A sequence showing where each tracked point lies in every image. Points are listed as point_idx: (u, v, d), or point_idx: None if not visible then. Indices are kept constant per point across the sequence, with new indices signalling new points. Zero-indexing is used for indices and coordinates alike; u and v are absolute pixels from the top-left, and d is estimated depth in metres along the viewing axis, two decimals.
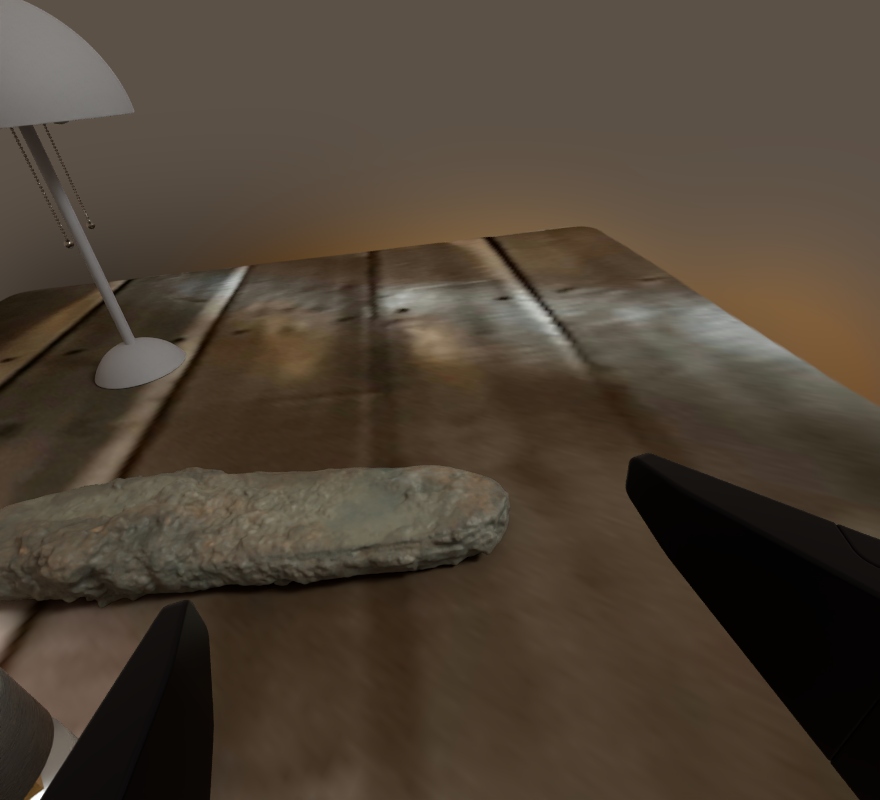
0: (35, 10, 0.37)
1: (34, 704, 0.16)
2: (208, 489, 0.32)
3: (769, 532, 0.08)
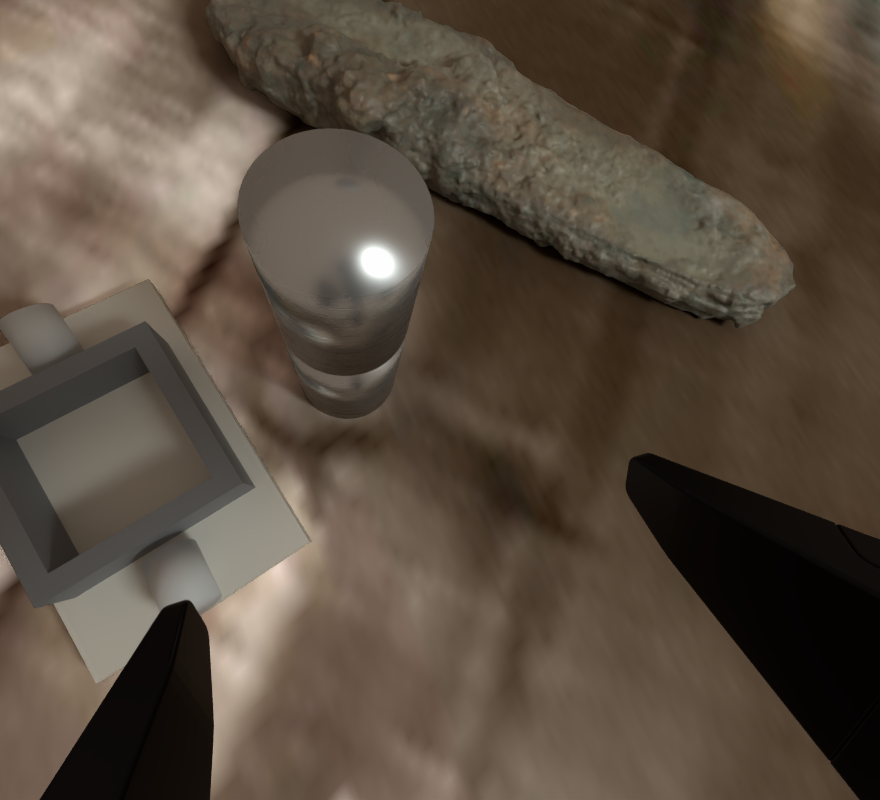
0: None
1: None
2: (502, 87, 0.26)
3: (769, 532, 0.08)
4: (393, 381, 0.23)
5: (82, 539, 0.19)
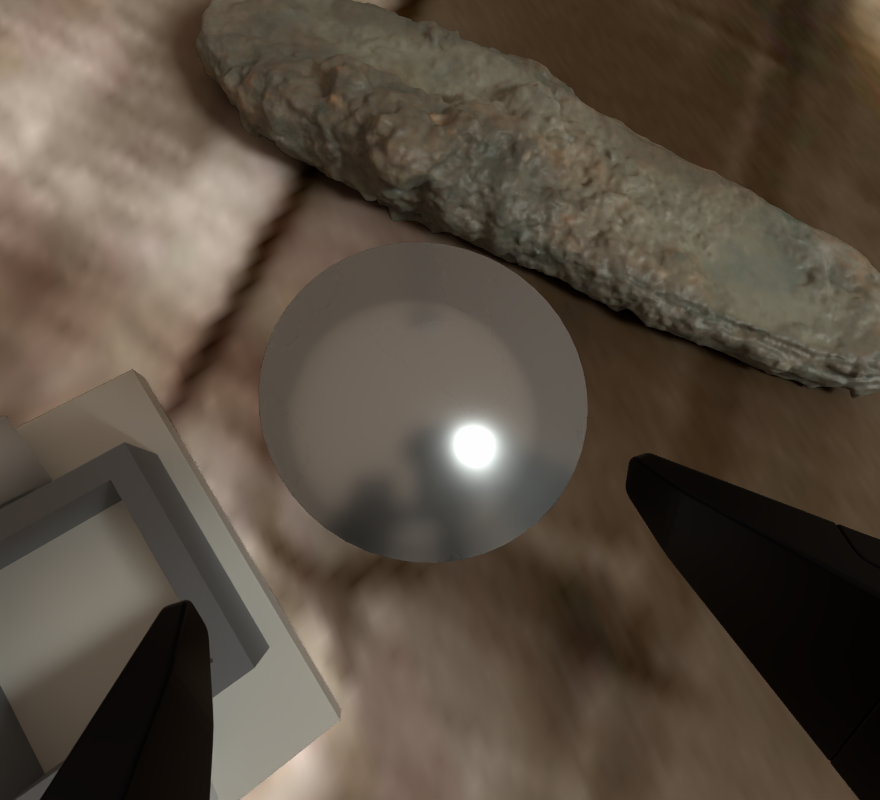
0: None
1: None
2: (565, 121, 0.21)
3: (769, 532, 0.08)
4: None
5: (40, 733, 0.15)
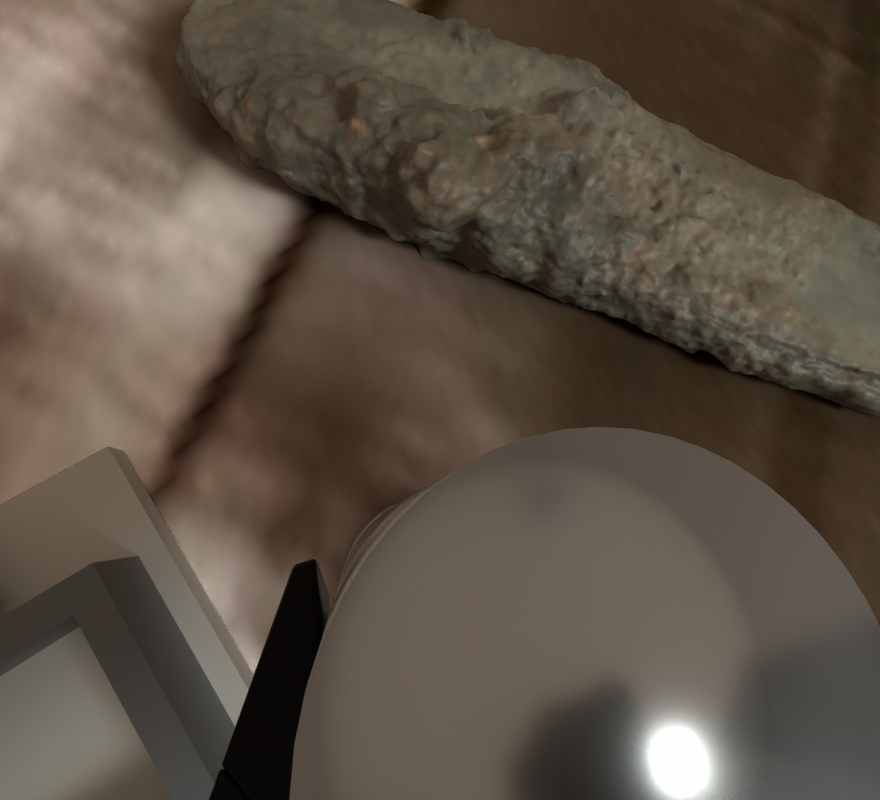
0: None
1: None
2: (627, 133, 0.18)
3: None
4: None
5: None
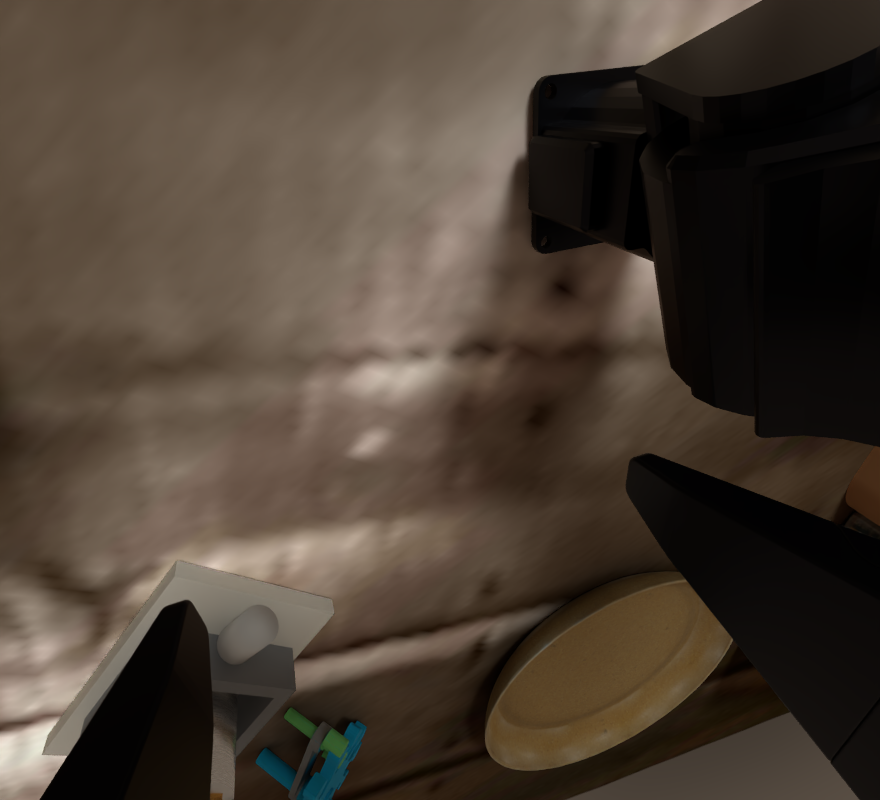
0: None
1: None
2: None
3: (769, 532, 0.08)
4: None
5: None
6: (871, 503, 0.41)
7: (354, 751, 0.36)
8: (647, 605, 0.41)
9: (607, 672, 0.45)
